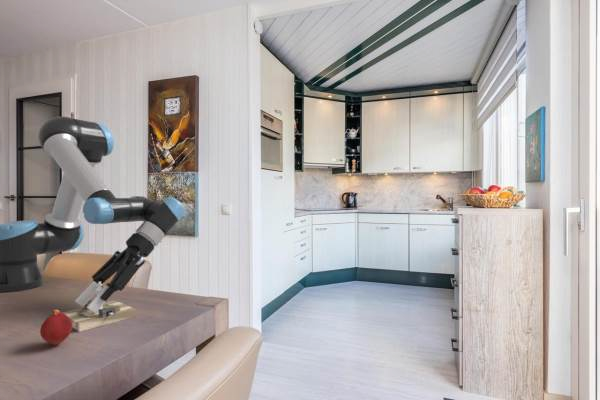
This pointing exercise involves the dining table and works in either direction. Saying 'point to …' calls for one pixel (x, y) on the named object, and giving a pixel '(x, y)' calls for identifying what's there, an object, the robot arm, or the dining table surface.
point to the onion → (56, 328)
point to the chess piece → (98, 293)
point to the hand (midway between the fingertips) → (85, 306)
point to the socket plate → (87, 320)
